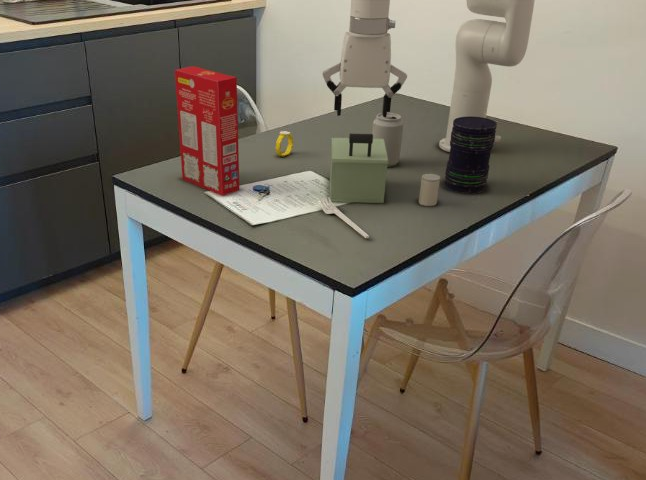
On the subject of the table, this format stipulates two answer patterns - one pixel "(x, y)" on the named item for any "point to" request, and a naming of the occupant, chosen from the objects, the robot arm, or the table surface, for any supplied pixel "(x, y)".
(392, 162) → the can
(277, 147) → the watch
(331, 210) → the fork
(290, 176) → the table surface
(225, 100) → the food packaging
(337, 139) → the box lid
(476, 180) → the dark blue disc stack
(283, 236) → the table surface
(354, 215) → the table surface
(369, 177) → the olive green lidded box
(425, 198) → the off-white cylinder
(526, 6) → the robot arm
